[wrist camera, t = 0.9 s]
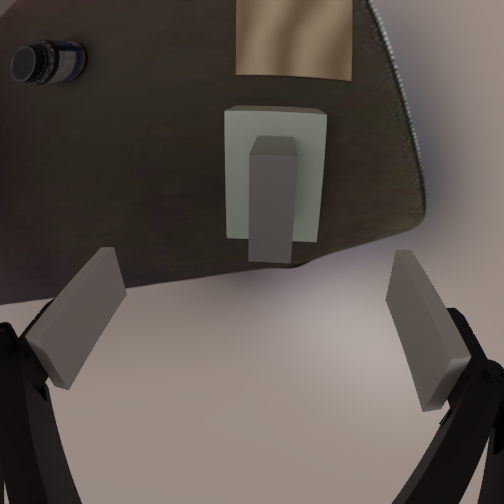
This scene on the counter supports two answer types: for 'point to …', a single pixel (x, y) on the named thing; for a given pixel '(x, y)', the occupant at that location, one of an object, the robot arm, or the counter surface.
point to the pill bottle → (48, 62)
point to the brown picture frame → (294, 38)
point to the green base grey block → (273, 179)
